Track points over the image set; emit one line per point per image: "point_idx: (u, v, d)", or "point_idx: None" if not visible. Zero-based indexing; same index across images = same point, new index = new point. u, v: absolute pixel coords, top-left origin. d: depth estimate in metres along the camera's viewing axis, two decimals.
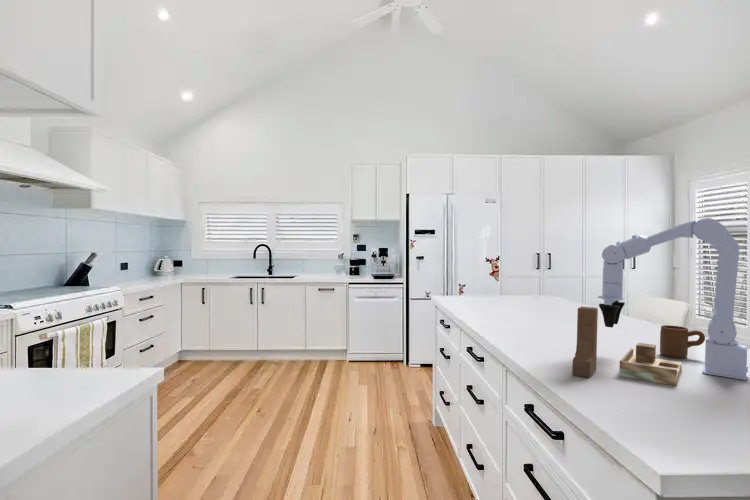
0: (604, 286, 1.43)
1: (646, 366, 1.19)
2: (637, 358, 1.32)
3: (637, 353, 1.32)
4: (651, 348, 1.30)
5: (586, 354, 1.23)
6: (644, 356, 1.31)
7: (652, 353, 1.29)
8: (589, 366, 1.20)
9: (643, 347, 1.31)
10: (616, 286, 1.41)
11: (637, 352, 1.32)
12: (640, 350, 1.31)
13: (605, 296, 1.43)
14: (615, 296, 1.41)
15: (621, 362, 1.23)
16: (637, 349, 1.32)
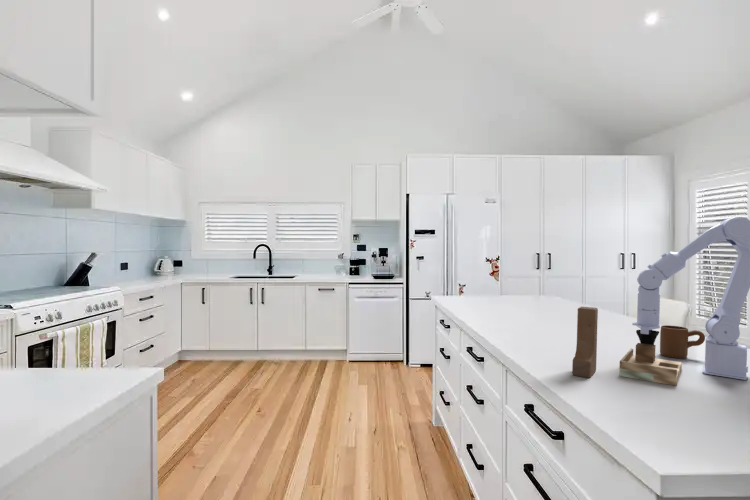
0: (639, 313, 1.35)
1: (646, 366, 1.19)
2: (637, 358, 1.31)
3: (637, 353, 1.31)
4: (651, 348, 1.29)
5: (586, 354, 1.23)
6: (644, 356, 1.30)
7: (652, 353, 1.29)
8: (589, 366, 1.20)
9: (643, 347, 1.30)
10: (653, 313, 1.32)
11: (637, 352, 1.31)
12: (640, 350, 1.31)
13: (640, 324, 1.34)
14: (651, 324, 1.32)
15: (621, 362, 1.23)
16: (637, 349, 1.31)
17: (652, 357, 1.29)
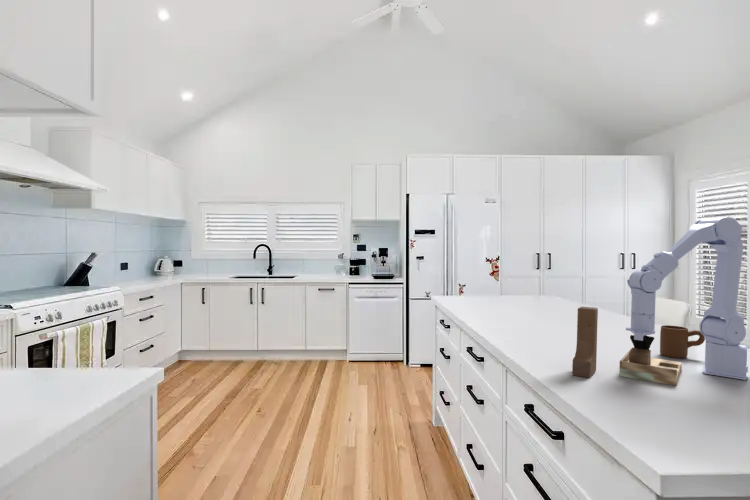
0: (633, 317, 1.25)
1: (646, 366, 1.19)
2: None
3: (630, 361, 1.23)
4: (645, 356, 1.20)
5: (586, 354, 1.23)
6: None
7: (646, 361, 1.20)
8: (589, 366, 1.20)
9: (637, 354, 1.22)
10: (647, 318, 1.23)
11: (630, 360, 1.23)
12: (633, 358, 1.22)
13: (634, 329, 1.25)
14: (646, 329, 1.23)
15: (621, 362, 1.23)
16: (630, 356, 1.23)
17: None
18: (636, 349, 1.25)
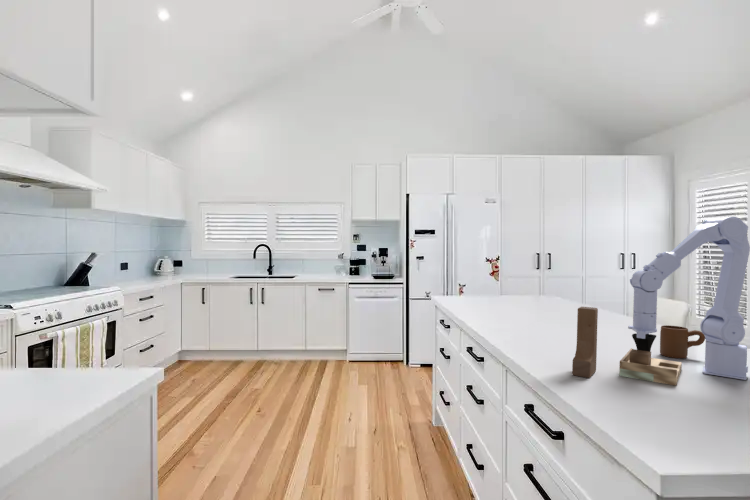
0: (635, 316, 1.28)
1: (646, 366, 1.19)
2: None
3: (631, 360, 1.23)
4: (646, 355, 1.21)
5: (586, 354, 1.23)
6: None
7: (647, 361, 1.21)
8: (589, 366, 1.20)
9: (637, 354, 1.22)
10: (649, 316, 1.25)
11: (631, 359, 1.23)
12: (634, 357, 1.22)
13: (637, 327, 1.27)
14: (648, 328, 1.26)
15: (621, 362, 1.23)
16: (631, 356, 1.23)
17: None
18: (637, 350, 1.25)
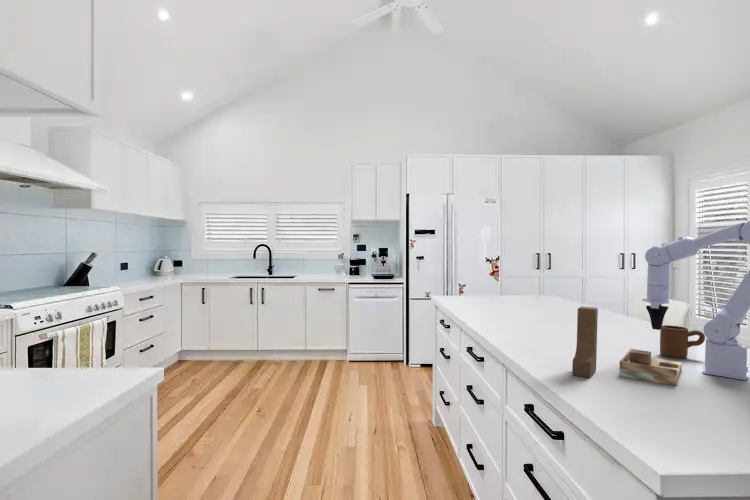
0: (649, 289, 1.39)
1: (646, 366, 1.19)
2: None
3: (631, 360, 1.23)
4: (646, 355, 1.21)
5: (586, 354, 1.23)
6: None
7: (647, 361, 1.21)
8: (589, 366, 1.20)
9: (637, 354, 1.22)
10: (662, 289, 1.37)
11: (631, 359, 1.23)
12: (634, 357, 1.22)
13: (650, 299, 1.38)
14: (661, 299, 1.37)
15: (621, 362, 1.23)
16: (631, 356, 1.23)
17: None
18: (637, 350, 1.25)
